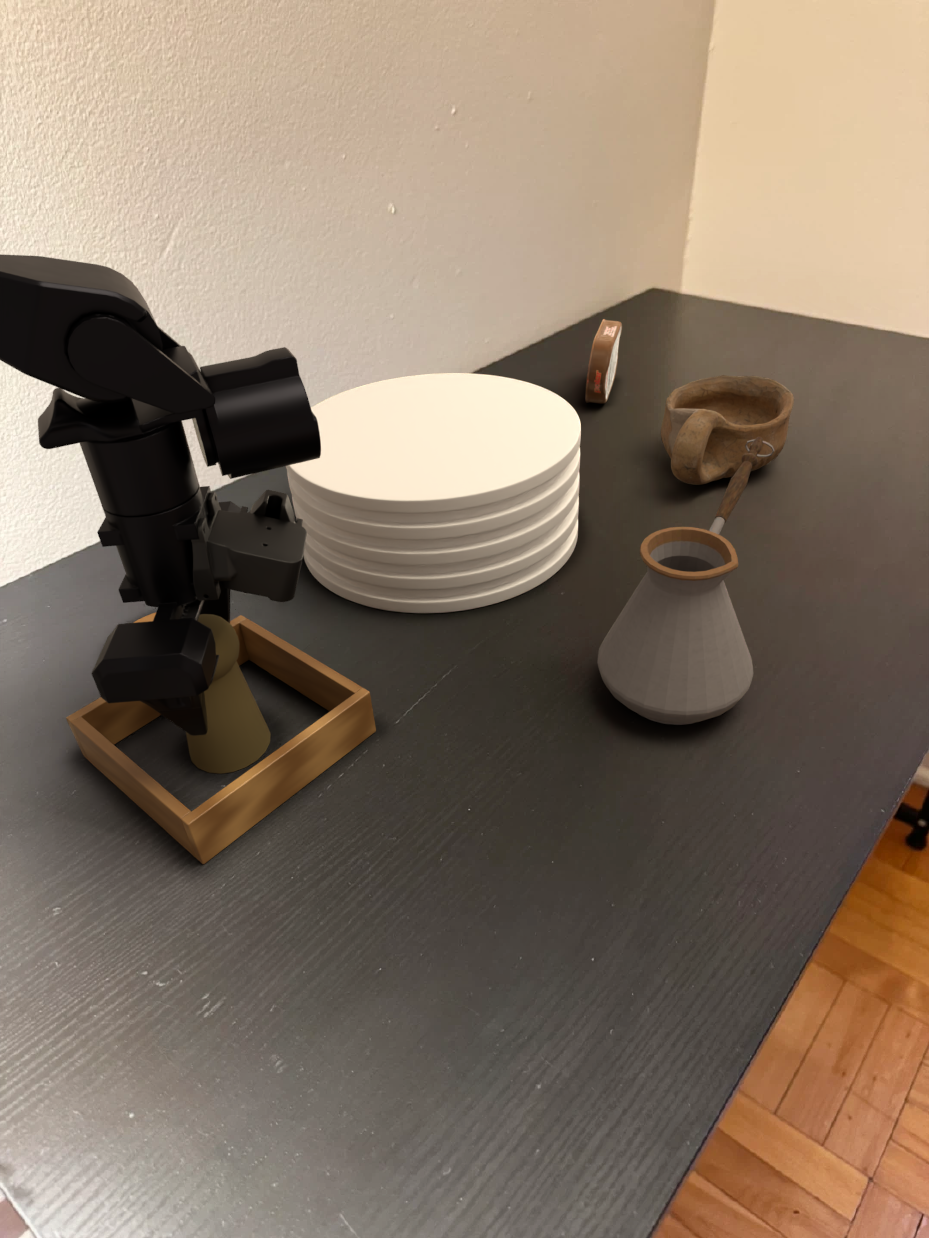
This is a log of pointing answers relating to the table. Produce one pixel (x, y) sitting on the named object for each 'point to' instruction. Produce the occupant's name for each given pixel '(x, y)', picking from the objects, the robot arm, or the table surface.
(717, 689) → the coffee pot
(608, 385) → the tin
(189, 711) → the robot arm
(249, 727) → the pepper shaker
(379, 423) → the plate stack
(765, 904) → the table surface
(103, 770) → the wooden frame
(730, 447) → the brown clay mug
